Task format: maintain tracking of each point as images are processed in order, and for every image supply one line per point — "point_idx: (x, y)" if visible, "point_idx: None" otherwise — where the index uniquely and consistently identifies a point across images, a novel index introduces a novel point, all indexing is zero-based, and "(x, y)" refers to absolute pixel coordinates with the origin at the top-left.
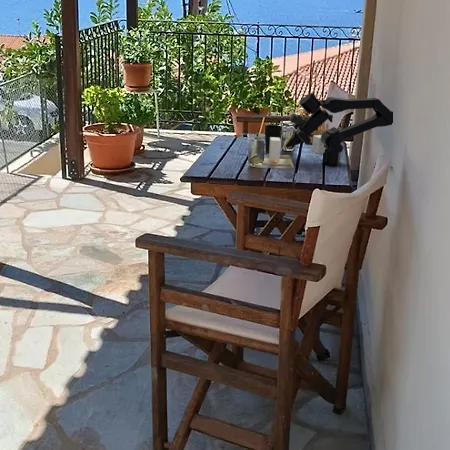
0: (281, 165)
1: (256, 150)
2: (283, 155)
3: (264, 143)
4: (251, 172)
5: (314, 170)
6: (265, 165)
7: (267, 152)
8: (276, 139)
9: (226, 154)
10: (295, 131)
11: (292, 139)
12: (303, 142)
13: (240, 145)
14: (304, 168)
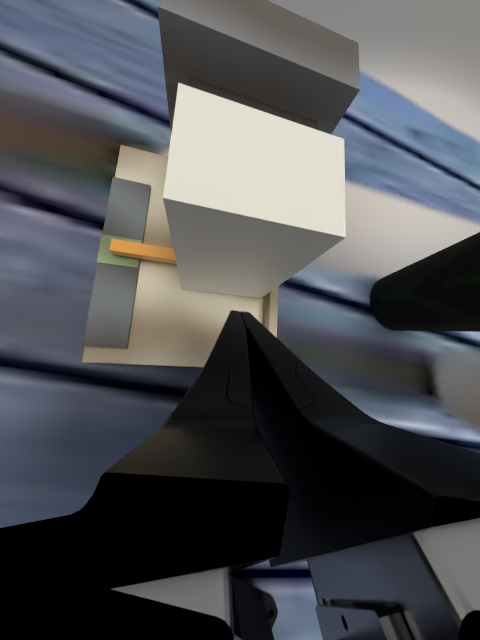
0: (94, 283)
1: None
2: (270, 325)
3: (220, 96)
4: (9, 108)
5: (41, 500)
6: (112, 197)
7: (382, 279)
8: (238, 166)
9: (341, 119)
10: (419, 539)
11: (198, 381)
12: (88, 580)
13: (468, 210)
14: (100, 432)
